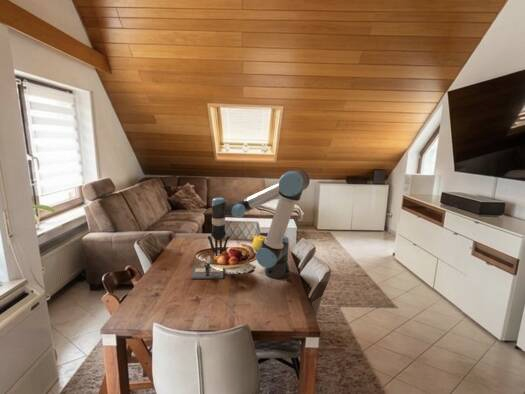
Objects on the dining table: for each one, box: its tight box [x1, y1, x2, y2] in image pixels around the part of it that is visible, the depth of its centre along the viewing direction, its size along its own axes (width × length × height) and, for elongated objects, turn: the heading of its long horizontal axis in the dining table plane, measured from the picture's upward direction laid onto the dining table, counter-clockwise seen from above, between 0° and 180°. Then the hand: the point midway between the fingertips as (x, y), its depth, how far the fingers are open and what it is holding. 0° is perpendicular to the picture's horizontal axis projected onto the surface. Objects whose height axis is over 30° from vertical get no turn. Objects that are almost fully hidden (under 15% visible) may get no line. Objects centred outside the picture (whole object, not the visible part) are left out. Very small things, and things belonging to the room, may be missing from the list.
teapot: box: [251, 235, 267, 252], centre depth 218 cm, size 18×11×11 cm, turn 41°
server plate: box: [190, 265, 224, 280], centre depth 180 cm, size 18×14×6 cm
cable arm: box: [203, 255, 211, 268], centre depth 179 cm, size 3×14×2 cm, turn 5°
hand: (218, 262), depth 183 cm, fingers closed
